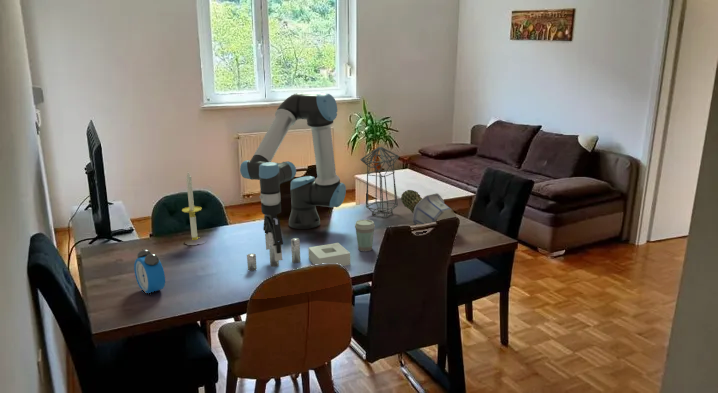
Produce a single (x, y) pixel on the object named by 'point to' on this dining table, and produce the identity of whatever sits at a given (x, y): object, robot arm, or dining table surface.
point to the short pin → (251, 262)
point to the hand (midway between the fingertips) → (274, 254)
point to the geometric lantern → (381, 179)
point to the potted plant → (426, 207)
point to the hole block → (329, 254)
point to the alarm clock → (149, 271)
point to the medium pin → (295, 250)
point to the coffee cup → (365, 234)
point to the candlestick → (191, 208)
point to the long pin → (272, 251)
